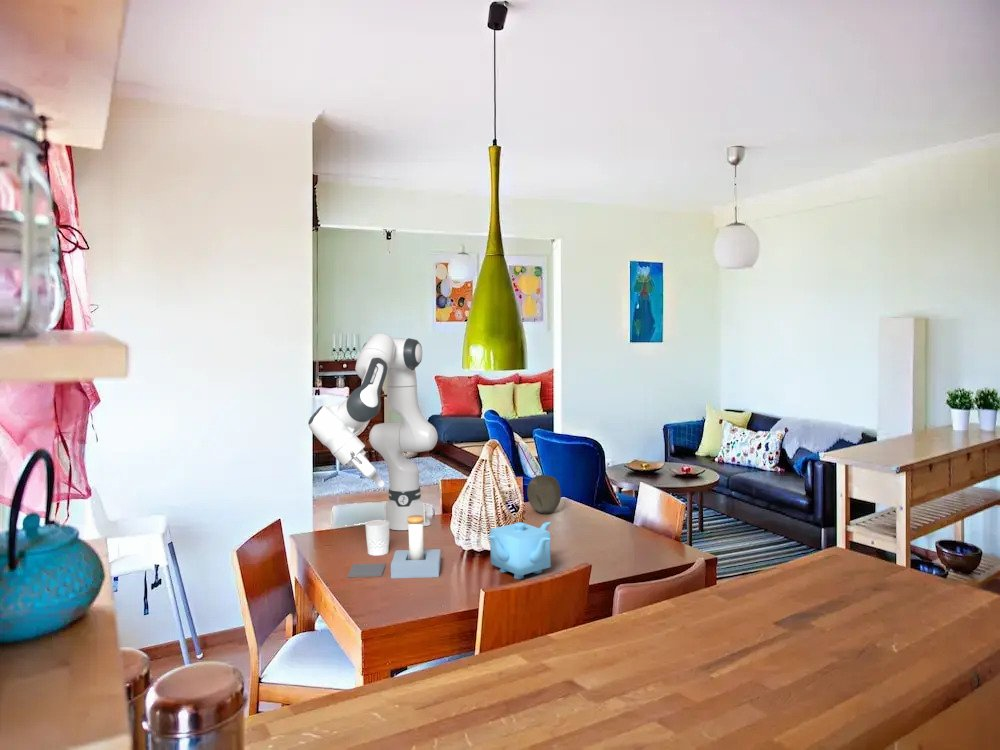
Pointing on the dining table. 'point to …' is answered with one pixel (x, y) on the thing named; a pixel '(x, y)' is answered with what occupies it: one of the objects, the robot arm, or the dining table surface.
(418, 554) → the plug
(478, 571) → the dining table surface
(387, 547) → the white cup
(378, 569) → the mat
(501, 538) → the teakettle
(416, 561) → the socket
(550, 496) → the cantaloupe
